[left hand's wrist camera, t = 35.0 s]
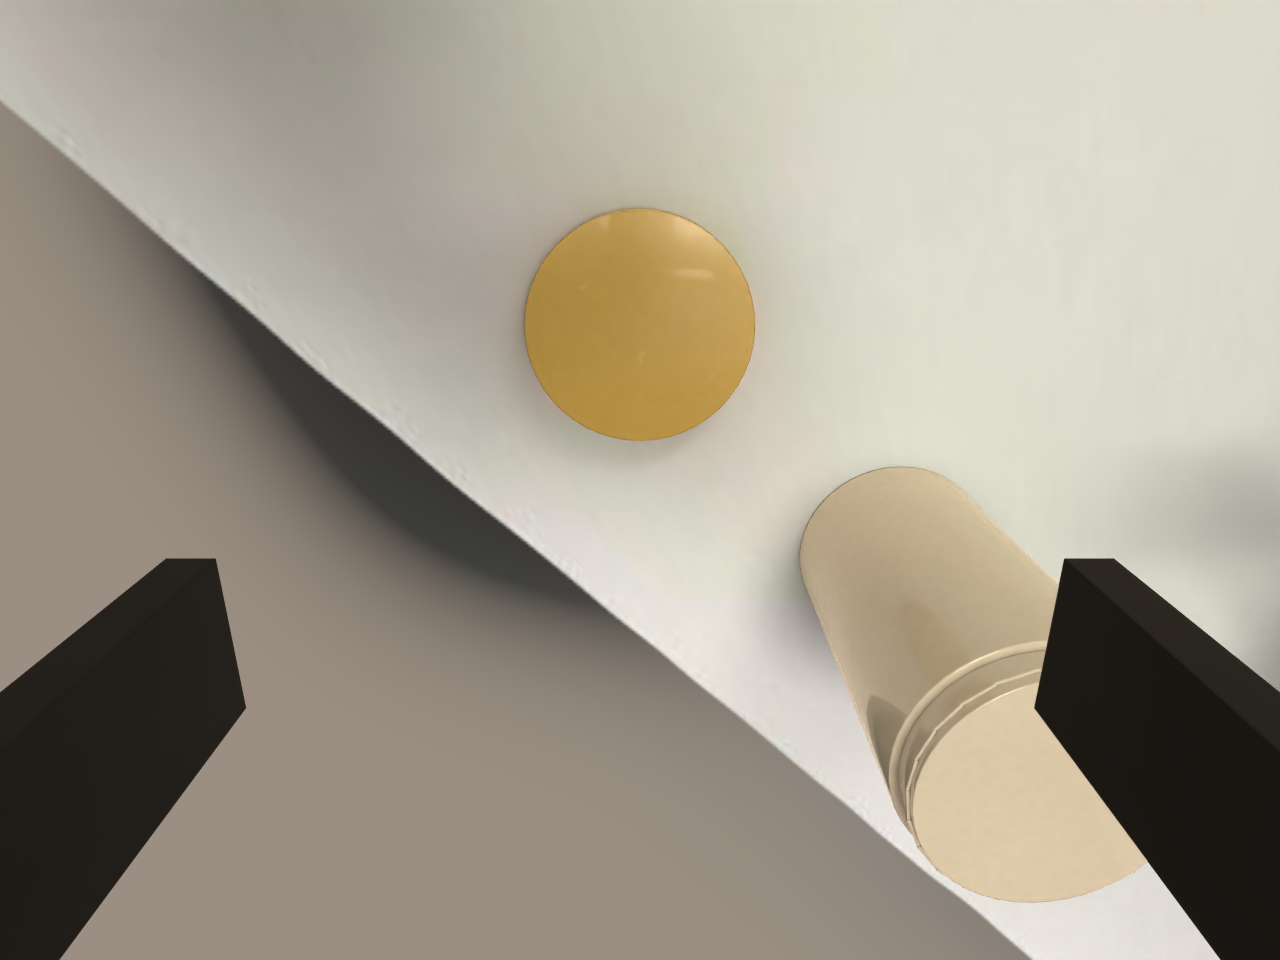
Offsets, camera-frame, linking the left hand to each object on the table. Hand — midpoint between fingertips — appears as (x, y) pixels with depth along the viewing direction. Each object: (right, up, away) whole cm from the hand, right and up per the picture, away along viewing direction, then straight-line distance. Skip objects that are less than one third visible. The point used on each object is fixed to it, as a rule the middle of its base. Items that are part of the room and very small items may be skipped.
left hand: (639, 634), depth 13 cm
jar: (+14, -2, +32) cm, 35 cm away
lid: (0, +10, +27) cm, 28 cm away
